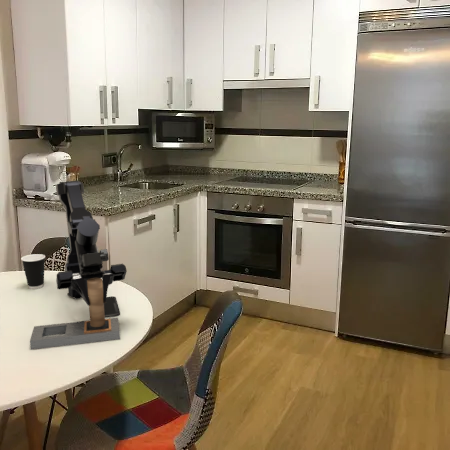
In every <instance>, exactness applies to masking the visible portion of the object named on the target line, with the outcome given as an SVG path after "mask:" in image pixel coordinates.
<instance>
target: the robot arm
mask: <svg viewBox="0 0 450 450" xmlns="http://www.w3.org/2000/svg"><path fill="white" fill-rule="evenodd" d="M84 189H85V188H84V182H81V181H79V180H71V181H70V180H67V181H59V183H57V184H56V185H55V190H56V192H55V193H56V196H57V197H58V200H59V202H60V204H61V205H62V206H63V207H64V209H65V216H66V217H65V218H66V224H67V232H68V241H69V249H70V250H69V253H68V255H67V258H66V263H65V264H64V265H65V267H64V270H63V271H57V273H56V288H57V290H64V289H67V292H68V293H67V296H69V297H71V298H73V299H76V300H80V299H83V300H84V302H85V303H86V305H87V306H88V307H89V305H90V302H89V297H88V287H87V280H88V279H90V278H101V279H102V283H103V298H104V303H106V297H108V289H109V286H111V285H112V284H113V282H118V281H119V282H120V281H124V280H125V278H126V274H127V268H126V265H125V264H124V263H117V264H116V263H115V264H110V269H107V270H106V269H105V270H102V269H103V268H104V267H103V262H107V261H109V259H110V258H109V253H108V249H106V248H104V249H103V248H102V249H100V250H99V252H98V247H97V242H98V237H99V231H100V229H101V228H100V227H101V226H100V224H99V223H98V222H97V221H96V219H94V217H93V215H92V212H91V211H89V210H88V209H86V206H85V205H86V204H85V201H84V198H83V194H85V190H84Z"/></svg>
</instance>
